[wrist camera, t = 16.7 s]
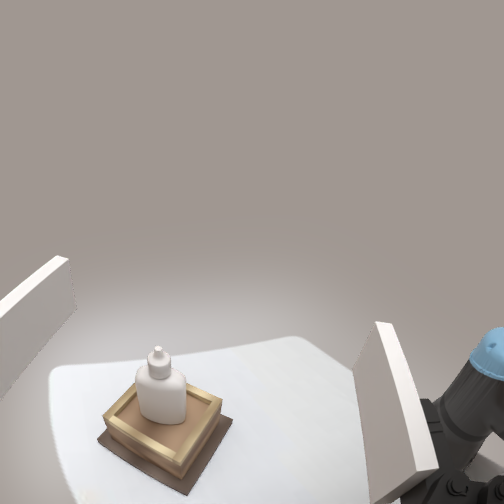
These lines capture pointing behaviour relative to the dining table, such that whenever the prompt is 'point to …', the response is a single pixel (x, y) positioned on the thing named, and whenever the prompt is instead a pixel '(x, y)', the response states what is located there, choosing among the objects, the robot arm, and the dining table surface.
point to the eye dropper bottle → (161, 389)
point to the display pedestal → (167, 438)
